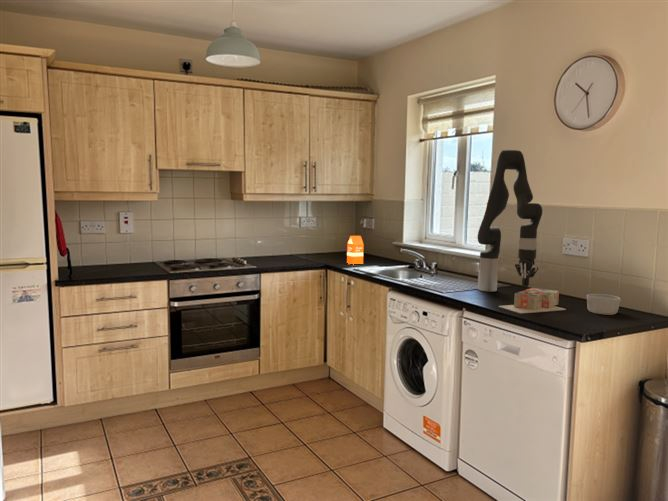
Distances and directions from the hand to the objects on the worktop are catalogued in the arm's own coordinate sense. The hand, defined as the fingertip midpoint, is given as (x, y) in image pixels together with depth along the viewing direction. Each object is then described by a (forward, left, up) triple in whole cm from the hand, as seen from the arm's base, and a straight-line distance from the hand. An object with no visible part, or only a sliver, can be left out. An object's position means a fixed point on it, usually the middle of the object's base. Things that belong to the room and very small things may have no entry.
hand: (525, 286), depth 238 cm
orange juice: (-150, -18, -9) cm, 151 cm away
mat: (+5, 0, -9) cm, 10 cm away
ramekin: (+20, +25, -9) cm, 33 cm away
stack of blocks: (-3, +2, -6) cm, 7 cm away
